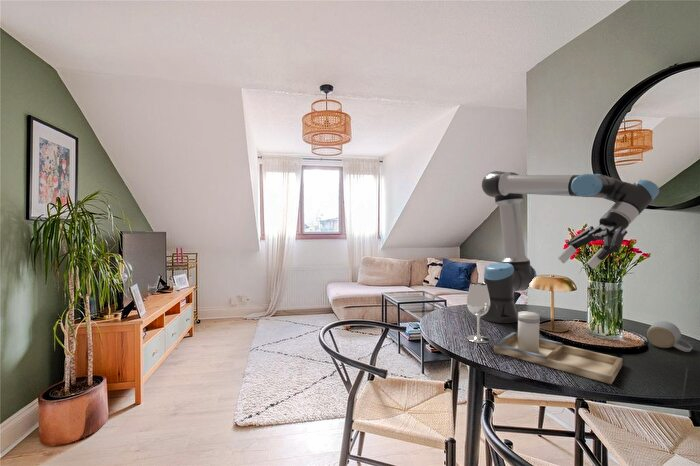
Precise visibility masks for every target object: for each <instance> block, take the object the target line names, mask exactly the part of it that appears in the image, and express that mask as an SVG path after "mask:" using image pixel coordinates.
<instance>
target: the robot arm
mask: <svg viewBox="0 0 700 466" xmlns="http://www.w3.org/2000/svg"><path fill="white" fill-rule="evenodd" d="M481 188H482V191H483V193H484V194H485V195H486V196H488V197H491V198H494V202H495V204H496V205H497V206H498V207H499V214H500V215H499V216H500V228H501V234H502V244H503V245H502V246H503V252H504V258H502V260H501V262H497V263H490V264H487V265H486V266H485V267H484V271H483V283H485V284H487V287H488V291H489V296H490V309H489V311H488V312H487V313H486V314H485V315H482V316H480V319H482V320H485V321H487V322H491V323H497V324H512V323H518V310H517V309H516V306H515V301H514V300H515V299H514V296H515V295H514V292H520V291H522V292H523V291H525V290H528V289H529V288H528V287H529V283H530V282H531V281H532V279H533V278H534V277H536V276H537V271H536V269H535V268H534V267H533V266H532V265H531V260H530V259H529V258H528V257H527V256H526V249H525V248H526V247H525V239H524V238H525V237H524V230H523V229H524V228H523V222H522V220H523V219H522V212H521V210H522V209H521V203H522V202H523V201H524V197H523V196H524V195H537V196H538V195H539V196H540V195H541V196H562V197H579V198H597V199H598V198H600V199H605V200H607V201H610V202H614V204H613V205H612V206H611V207H610V208H609V209H608V210H607V212H605V213H604V214H603V215H602V217H600V219H599V220H598V221H599V223H598V226H596V227H594V226H593V225H590V226H588V228H586V229H585V230H583V231H582V232H580V233H579V234H578V235H576V236H574V237H573V238H572V239H569V240H568V241H567V242H566V244H567V245H568V246H567V248H566V249H565V250H564V251H563V252H562V253H561V254H560V255H559V256H558V257H557V259H558V260H559V261H560V262H561V263H562V264H565V263H566V262H568V260H569V259H570V258H571V257H572V256H573V255H574V254H575V253H576V252H577V249H580V248H581V247H583V246H585V245H587V244H590V243H591V242H596V241H600V240H601V241H603V245H602V246H601V247H600V248H599V249H598V250H597V251H596V252H595V253H594V254H593V255H592V256H591V258H590V259H589V260H588V261H586V264H587V265H588V266H589V267H590V268H591V269H593V270H594V269H596V267H597V266H598V265H599V264H600V263H601V262H602V261H604V260H605V259H606V258H607V257H608V256H609V255H610V254H611V255H612V254H613V253H615V254H617V253H619V252H620V249H621V247H622V244H623V241H624V239H625V236H626V235H627V234H628V231H627V230H626V229H627V228H628V227H629V225H630V224H632V223H633V222H634V220H636V218H637V217H639V216H640V215H641V214H642V212H643V211H644V210H645V209H647V207H648V206H649V205H650V204H651V203H652V202H654V200H655V198H656V197H657V196H658V195H659V193H660V188H659V186H658V185H657V184H656V183H655V182H653V181H651V180H648V179H639V180H636V181H635V182H633V183H630V182H626V181H623V180H620V179H617V178H614V177H611V176H607V175H605V174H600V173H594V174H592V173H591V174H590V173H584V174H583V173H582V174H519V173H516V172H511V171H510V172H509V171H508V172H507V171H498V170H494V171H489V172H488V173H486V175H485V176H483V179H482V181H481Z"/></svg>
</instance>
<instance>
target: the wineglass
mask: <svg viewBox="0 0 700 466" xmlns="http://www.w3.org/2000/svg"><path fill="white" fill-rule="evenodd" d="M466 306H467V309H468V310H469V312H470V313H471V314H472V315H473V316H476V323H477V324H476V325H477V326H476V327H477V328H476V329H477V330H476V332H477V333H476V334H470V335H468V336H467V338H466V340H468V341H470V342H472V343H475V344H476V343H477V344H486V343H487V344H488V343H489V342H490V340H491V339H490V337H489V338H488V337H486V336H483V335H481V334H480V322H481V321H480V319H481V317H480V316H482V315H485V314H486V313H487V312H488V311H489V309H490V296H489V291H488V287H487V284H485V283H484V282H471V283H470V284H469V288H468V292H467V298H466Z"/></svg>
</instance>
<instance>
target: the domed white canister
mask: <svg viewBox="0 0 700 466" xmlns="http://www.w3.org/2000/svg"><path fill="white" fill-rule="evenodd" d="M517 314H518V321H517V333H518V349H521V350H525V351H529V352H532V353H536V354H539V338H540V323H541V321H540V319H541V318H540V314H539V313H538V312H534V311H529V310H528V311H527V310H526V311H525V310H524V311H517Z"/></svg>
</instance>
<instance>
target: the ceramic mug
mask: <svg viewBox="0 0 700 466" xmlns="http://www.w3.org/2000/svg"><path fill="white" fill-rule="evenodd" d="M646 337H647V338H646V339H647V340H648V342H650V344H652V345H653V346H654V347H657V348H659V349H669V348H672V347H673V348H676V349H677V350H679V351H682V352H685V353H690V352H691V351H692V349H693V346H692V345H691V344H690V343H689V342H688V341H686V340H684V339H683V338H682V332H681V330H680V328H679V327H678V326H677V325H676V324H674V323H672V322H669V321H667V320H659V321H658V320H657V321H655V322H654V323H653V324H651V326H650V327H649V328H648V329H647V332H646Z"/></svg>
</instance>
